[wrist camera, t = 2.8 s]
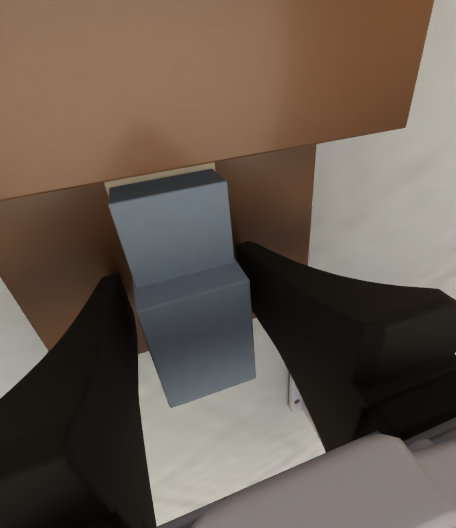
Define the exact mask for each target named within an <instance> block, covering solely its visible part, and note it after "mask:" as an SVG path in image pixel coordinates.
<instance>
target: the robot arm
mask: <svg viewBox="0 0 456 528" xmlns="http://www.w3.org/2000/svg"><path fill="white" fill-rule="evenodd" d="M236 255H237V263H238V264H239V266H240V267H241V269H242V270H243V272H244V273H245V274H246V276H247V277H248V279H249V280H250V295H251V309H252V311H253V313H254V314H255V316H256V317H257V319H258V320H259V322H260V323H261V325H262V326H263V328H264V329H265V331H266V332H267V334H268V335H269V337H270V339H271V340H272V342H273V343H274V345H275V346H276V348H277V350H278V351H279V353H280V355H281V357H282V359H283V361H284V363H285V365H286V367H287V369H288V371H289V373H290V386H289V409H290V411H291V412H297V411H300V410H302V409H303V410H304V412H305V414H306V416H307V417H308V419H309V421H310V423H311V424H312V426H313V428H314V430H315V431H316V433H317V435H318V437H319V438H320V440H321V442H322V444H323V446H324V448H325V451H326V453H325V454H322V455H320V456H318V457H315V458H313V459H311V460H309V461H306V462H304V463H302V464H299V465H297V466H295V467H293V468H290V469H288V470H286V471H284V472H281V473H279V474H277V475H274V476H272V477H270V478H268V479H265V480H263V481H261V482H258V483H256V484H254V485H252V486H249V487H247V488H245V489H242V490H240V491H238V492H236V493H233V494H231V495H229V496H226V497H224V498H222V499H220V500H217V501H215V502H213V503H210V504H208V505H206V506H204V507H201V508H199V509H197V510H194V511H192V512H190V513H188V514H185V515H183V516H181V517H178V518H176V519H174V520H172V521H169V522H167V523H165V524H162V525H160V526H158V527H156V520H155V514H154V508H153V501H152V495H151V489H150V482H149V475H148V468H147V461H146V454H145V446H144V439H143V431H142V423H141V415H140V406H139V393H138V337H137V329H136V323H135V316H134V312H133V310H132V307H131V304H130V302H129V299H128V296H127V293H126V291H125V288H124V285H123V283H122V280H121V277H120V274H119V273H117V274H113V275H109V276H105V277H102V278H101V279H100V281H99V282H98V284H97V286H96V287H95V289H94V291H93V292H92V294H91V295H90V297H89V299H88V300H87V302H86V303H85V305H84V307H83V308H82V310H81V311H80V313H79V314H78V316H77V317H76V318H75V320H74V321H73V323H72V324H71V325H70V327H69V328H68V329H67V331H66V332H65V333H64V335H63V336H62V337H61V338H60V340H59V341H58V342H57V343H56V344H55V346H54V347H53V348H52V349H51V350H50V351H49V352H48V353H47V354H46V356H45V357H44V358H43V359H42V360H41V361H40V362H39V363H38V364H37V365H36V366H35V367H34V368H33V369H32V370H31V371H30V372H29V373H28V374H27V375H26V376H25V377H24V378H22V379H21V380H20V381H19V382H18V383H17V384H16V385H15V386H14V387H13V388H12V389H11V390H10V391H9V392H7V393H6V394H5V395H4V396H3V397H2V398H1V399H0V528H456V355H455V352H456V300H455V299H453V298H451V297H450V296H448V295H447V294H445V293H444V292H442V291H441V290H439V289H434V288H419V287H405V286H395V285H388V284H380V283H373V282H367V281H362V280H357V279H352V278H347V277H343V276H339V275H335V274H332V273H328V272H325V271H321V270H318V269H315V268H312V267H309V266H307V265H304V264H301V263H299V262H296V261H294V260H291V259H289V258H287V257H285V256H282V255H280V254H278V253H276V252H274V251H271V250H269V249H267V248H265V247H263V246H261V245H259V244H257V243H254V242H252V241H247V242H243V243H239V244H236Z"/></svg>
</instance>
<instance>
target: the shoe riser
mask: <svg viewBox="0 0 456 528" xmlns="http://www.w3.org/2000/svg"><path fill="white" fill-rule="evenodd" d="M433 3H434V0H0V277H1V279H2V280H3V282H4V283H5V285H6V286H7V288H8V289H9V291H10V292H11V294H12V295H13V297H14V299H15V300H16V302H17V303H18V305H19V306H20V308H21V309H22V311H23V312H24V314H25V315H26V317H27V319H28V320H29V322H30V323H31V325H32V326H33V328H34V329H35V331H36V332H37V334H38V335H39V337H40V339H41V340H42V342H43V343H44V345H45V346H46V348H47V349H48V351H50V350H51V349H52V348H53V347H54V346H55V344H56V343H57V342H58V341H59V340H60V338H61V337H62V336H63V335H64V333H65V332H66V331H67V329H68V328H69V327H70V325H71V324H72V323H73V321H74V320H75V318H76V317H77V316H78V314H79V313H80V311H81V310H82V308H83V307H84V305H85V303H86V302H87V300H88V299H89V297H90V295H91V294H92V292H93V291H94V289H95V287H96V286H97V284H98V282H99V281H100V279H101V278H102V277H105V276H109V275H113V274H117V273H119V274H120V277H121V280H122V283H123V285H124V288H125V291H126V293H127V296H128V299H129V302H130V304H131V307H132V310H133V312H134V316H135V323H136V329H137V337H138V354H140V353H144V352H147V351H149V349H148V346H147V343H146V340H145V338H144V335H143V332H142V329H141V327H140V324H139V321H138V318H137V316H136V313H135V303H134V291H133V280H132V274H131V271H130V268H129V265H128V262H127V259H126V256H125V253H124V250H123V248H122V245H121V242H120V239H119V236H118V233H117V230H116V227H115V224H114V221H113V218H112V215H111V212H110V209H109V206H108V202H109V197H108V194H107V191H106V188H105V185H104V182H109V181H114V180H120V179H125V178H131V177H136V176H142V175H147V174H153V173H158V172H164V171H169V170H175V169H181V168H186V167H192V166H197V165H203V164H208V163H214V162H215V170H216V172H217V173H218V174H219V175H220V176H221V177H222V178H223V179H225V180H226V181H227V188H228V199H229V209H230V219H231V230H232V240H233V250H234V258H235V260H236V261H237V255H236V244H239V243H243V242H247V241H252V242H254V243H257V244H259V245H261V246H263V247H265V248H267V249H269V250H271V251H274V252H276V253H278V254H280V255H282V256H285V257H287V258H289V259H291V260H294V261H296V262H299V263H301V264H304V265H307V266H308V254H309V240H310V225H311V211H312V196H313V182H314V168H315V153H316V144H319V143H324V142H330V141H335V140H341V139H346V138H352V137H357V136H363V135H368V134H374V133H379V132H385V131H390V130H396V129H401V128H405V127H406V124H407V120H408V115H409V111H410V106H411V102H412V97H413V93H414V88H415V84H416V79H417V75H418V70H419V66H420V61H421V57H422V53H423V48H424V44H425V39H426V35H427V30H428V26H429V21H430V17H431V12H432V8H433ZM251 310H252V309H251ZM254 318H257V317H256V316H255V314H254V313H253V311H252V319H254Z"/></svg>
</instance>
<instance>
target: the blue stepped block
mask: <svg viewBox="0 0 456 528" xmlns="http://www.w3.org/2000/svg"><path fill="white" fill-rule="evenodd" d="M104 185H105V188H106V191H107V194H108V197H109V202H108V206H109V209H110V212H111V215H112V218H113V221H114V224H115V227H116V230H117V233H118V236H119V239H120V242H121V245H122V248H123V250H124V253H125V256H126V259H127V262H128V265H129V268H130V271H131V274H132V280H133V291H134V303H135V313H136V316H137V318H138V321H139V324H140V327H141V329H142V332H143V335H144V338H145V340H146V343H147V346H148V349H149V351H150V354H151V357H152V360H153V362H154V365H155V368H156V371H157V373H158V376H159V379H160V382H161V384H162V387H163V390H164V393H165V395H166V398H167V401H168V404H169V406H170V407H171V408H173V407H176V406H178V405H181V404H184V403H187V402H190V401H192V400H195V399H198V398H201V397H204V396H207V395H209V394H212V393H215V392H218V391H221V390H223V389H226V388H229V387H232V386H235V385H237V384H240V383H243V382H246V381H249V380H252V379H254V378H255V377H256V371H255V356H254V340H253V325H252V310H251V295H250V280H249V279H248V277H247V276H246V274H245V273H244V272H243V270H242V269H241V267H240V266H239V264H238V263H237V261H236V260H235V258H234V250H233V240H232V230H231V219H230V209H229V199H228V188H227V181H226V180H225V179H223V178H222V177H221V176H220V175H219V174H218V173H217V172H216V170H215V162H214V163H208V164H203V165H197V166H192V167H186V168H181V169H175V170H169V171H164V172H158V173H153V174H147V175H142V176H136V177H131V178H125V179H120V180H114V181H109V182H104Z"/></svg>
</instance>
